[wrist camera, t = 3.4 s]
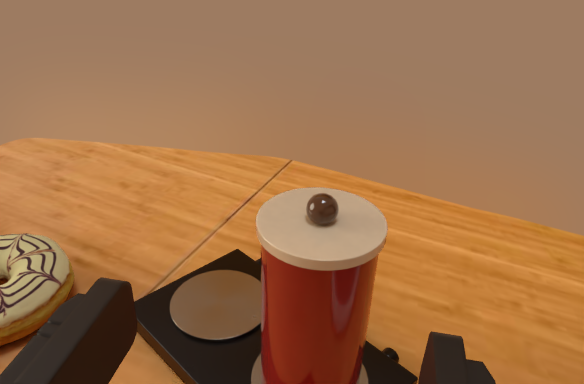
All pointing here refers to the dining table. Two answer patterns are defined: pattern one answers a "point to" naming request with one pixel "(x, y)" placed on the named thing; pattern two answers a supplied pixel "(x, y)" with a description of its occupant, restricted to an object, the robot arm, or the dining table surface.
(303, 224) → the lidded canister
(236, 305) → the flat stove
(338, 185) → the dining table surface
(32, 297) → the decorated donut
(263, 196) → the dining table surface
